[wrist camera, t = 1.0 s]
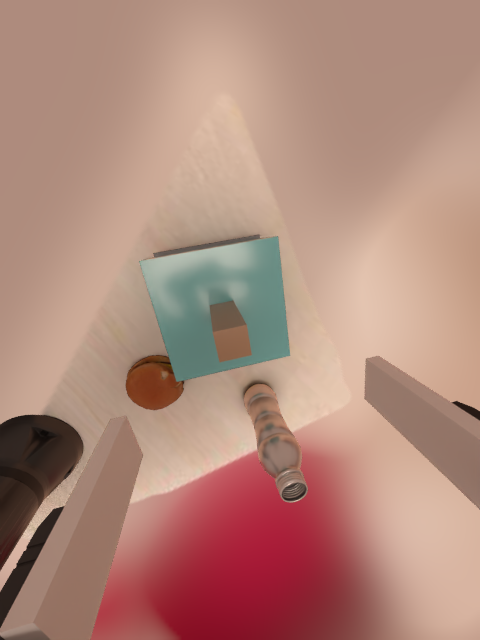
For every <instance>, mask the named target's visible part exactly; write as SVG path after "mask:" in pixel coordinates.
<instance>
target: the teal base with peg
mask: <svg viewBox="0 0 480 640" xmlns="http://www.w3.org/2000/svg"><path fill="white" fill-rule="evenodd" d="M139 263H140V266H141V269H142V273H143V276H144V279H145V282H146V285H147V289H148V292H149V295H150V298H151V301H152V305H153V308H154V311H155V314H156V317H157V321H158V324H159V327H160V330H161V334H162V337H163V340H164V343H165V346H166V350H167V353H168V356H169V359H170V362H171V366H172V369H173V372H174V375H175V378H176V382H179V381H183V380H187V379H192V378H196V377H200V376H205V375H209V374H213V373H217V372H222V371H226V370H230V369H235V368H239V367H243V366H248V365H252V364H256V363H261V362H265V361H269V360H273V359H278V358H282V357H286V356H290V350H289V340H288V330H287V320H286V310H285V300H284V290H283V280H282V271H281V261H280V251H279V241H278V236H276V237H266V238H256V239H251V240H245V241H240V242H234V243H228V244H223V245H217V246H211V247H206V248H200V249H195V250H189V251H183V252H178V253H172V254H167V255H161V256H156V257H152V258H149V259H145V260H141V261H139Z"/></svg>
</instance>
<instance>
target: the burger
mask: <svg viewBox="0 0 480 640" xmlns="http://www.w3.org/2000/svg"><path fill="white" fill-rule="evenodd" d="M183 384H184V381H179V382H176V378H175V375H174V372H173V369H172V366H171V362H170V359H169V358H168V357H166V356H160V355H156V356H149V357H147V358H144V359H142V360H140V361H139V362H137V363H136V364H135V365H134V366H133V367H132V368H131V369H130V370H129V372H128V375H127V380H126V390H127V394H128V396H129V397H130V399H131V400H132V401H133V402H134V403H136V404H137V405H139V406H141V407H143V408H145V409H150V410H158V409H162V408H165V407H167V406H168V405H170V404H171V403H173V402H174V401H176V400H177V399H178V398H179V397H180V395H181V394H182V392H183V390H184V388H183Z"/></svg>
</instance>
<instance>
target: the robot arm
mask: <svg viewBox="0 0 480 640" xmlns="http://www.w3.org/2000/svg"><path fill="white" fill-rule="evenodd" d="M365 400H367V401H368V402H369V403H370V404H371V405H372V406H373V407H374V408H375V409H376V410H377V411H378V412H379V413H380V414H381V415H382V416H383V417H384V418H385V419H386V420H387V421H388V422H389V423H390V424H391V425H393V426H394V427H395V428H396V429H397V430H398V431H399V432H400V433H401V434H402V435H403V436H404V437H405V438H406V439H407V440H408V441H409V442H410V443H411V444H412V445H413V446H414V447H415V448H416V449H417V450H418V451H420V452H421V453H422V454H423V455H424V456H425V457H426V458H427V459H428V460H429V461H430V462H431V463H432V464H433V465H434V466H435V467H436V468H437V469H438V470H439V471H440V472H441V473H442V474H443V475H444V476H446V477H447V478H448V479H449V480H450V481H451V482H452V483H453V484H454V485H455V486H456V487H457V488H458V489H459V490H460V491H461V492H462V493H463V494H464V495H465V496H466V497H467V498H468V499H469V500H470V501H471V502H472V503H474V504H475V505H476V506H477V507H478V508H479V509H480V411H478V410H477V409H475V408H473V407H470V406H468V405H465V404H463V403H460V402H458V401H455V402H452V403H451V402H450V401H448V400H447V399H445V398H443V397H442V396H440V395H439V394H437V393H436V392H434V391H433V390H431V389H429V388H428V387H426V386H425V385H423V384H422V383H420V382H418V381H417V380H415V379H414V378H412V377H411V376H409V375H408V374H406V373H405V372H403V371H401V370H400V369H398V368H397V367H395V366H394V365H392V364H390V363H389V362H387V361H386V360H384V359H383V358H381V357H380V356H376V357H372V358H367V359H366V369H365ZM82 452H83V445H82V441H81V439H80V437H79V435H78V434H77V432H76V431H75V430H74V429H73V428H72V427H70V426H69V425H67V424H66V423H64V422H62V421H60V420H58V419H55V418H52V417H48V416H42V415H24V416H18V417H15V418H12V419H9V420H7V421H6V422H4V423H2V424H1V425H0V570H1V569H2V567H3V566H4V564H5V562H6V561H7V559H8V557H9V556H10V554H11V552H12V551H13V549H14V548H15V546H16V544H17V543H18V541H19V539H20V538H21V536H22V535H23V533H24V531H25V530H26V528H27V526H28V525H29V523H30V521H31V520H32V518H33V517H34V515H35V513H36V511H37V510H38V508H39V507H40V505H41V504H42V502H43V500H44V499H45V498H46V497H47V496H48V495H49V494H50V493H51V492H52V491H53V490H54V489H55V488H56V487H57V486H58V485H59V484H60V483H61V482H62V481H63V480H64V479H65V478H67V477H68V476H69V475H70V474H71V472H72V471H73V470H74V468H75V467H76V465H77V463H78V462H79V460H80V458H81V456H82ZM142 457H143V454H142V452H141V449H140V447H139V445H138V442H137V440H136V438H135V435H134V433H133V431H132V428H131V426H130V424H129V421H128V419H127V417H126V416H123V417H118V418H114V419H110V421H109V423H108V425H107V427H106V429H105V431H104V433H103V435H102V437H101V438H100V440H99V442H98V444H97V446H96V448H95V450H94V452H93V454H92V455H91V457H90V459H89V461H88V463H87V465H86V467H85V469H84V471H83V473H82V474H81V476H80V478H79V480H78V482H77V484H76V486H75V488H74V490H73V491H72V493H71V495H70V497H69V499H68V501H67V503H66V505H65V506H64V507H60V508H56V509H53V510H52V512H51V513H50V514H49V515H48V516H47V517H46V519H45V520H44V521H43V522H42V523H41V524H40V526H39V527H38V528H37V530H36V532H35V533H34V535H33V537H32V539H31V540H30V542H29V544H28V546H27V549H26V551H24V552H23V554H22V556H21V558H20V559H19V561H18V563H17V567H16V568H15V569H13V571H12V573H11V575H10V576H9V578H8V580H7V581H6V583H5V585H4V587H3V588H2V590H1V592H0V640H90V638H91V635H92V631H93V628H94V625H95V621H96V617H97V614H98V610H99V607H100V603H101V600H102V596H103V593H104V589H105V586H106V582H107V579H108V576H109V572H110V569H111V565H112V562H113V558H114V555H115V551H116V548H117V544H118V541H119V537H120V534H121V530H122V526H123V523H124V519H125V516H126V513H127V509H128V506H129V502H130V499H131V495H132V492H133V488H134V485H135V481H136V478H137V474H138V471H139V467H140V464H141V460H142Z"/></svg>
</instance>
